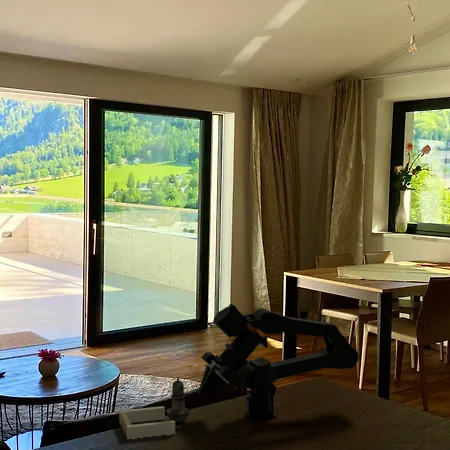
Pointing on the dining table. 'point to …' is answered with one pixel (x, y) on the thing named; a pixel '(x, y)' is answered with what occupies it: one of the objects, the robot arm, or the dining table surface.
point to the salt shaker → (178, 405)
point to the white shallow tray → (145, 429)
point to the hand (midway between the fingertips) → (199, 395)
